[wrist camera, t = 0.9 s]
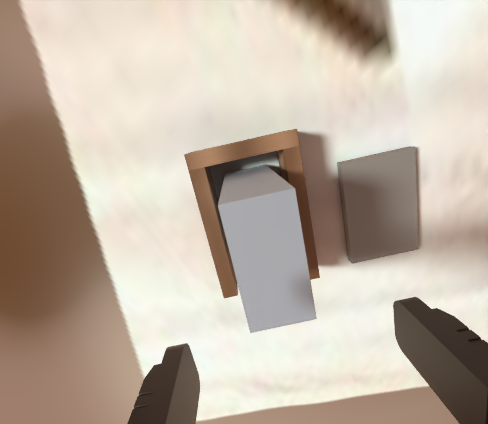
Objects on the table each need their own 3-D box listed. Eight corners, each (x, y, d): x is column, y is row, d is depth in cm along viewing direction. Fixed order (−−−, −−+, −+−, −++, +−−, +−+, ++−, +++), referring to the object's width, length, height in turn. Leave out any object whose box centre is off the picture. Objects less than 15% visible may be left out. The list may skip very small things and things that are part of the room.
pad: (409, 146, 28) (415, 146, 27) (413, 245, 31) (418, 249, 30) (337, 162, 28) (340, 163, 27) (348, 259, 32) (352, 263, 31)
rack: (287, 130, 27) (296, 128, 23) (309, 260, 31) (319, 277, 28) (191, 152, 27) (184, 154, 24) (225, 278, 32) (224, 298, 28)
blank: (265, 164, 28) (294, 188, 15) (280, 239, 31) (316, 318, 17) (225, 173, 28) (217, 205, 15) (242, 247, 31) (250, 332, 17)
